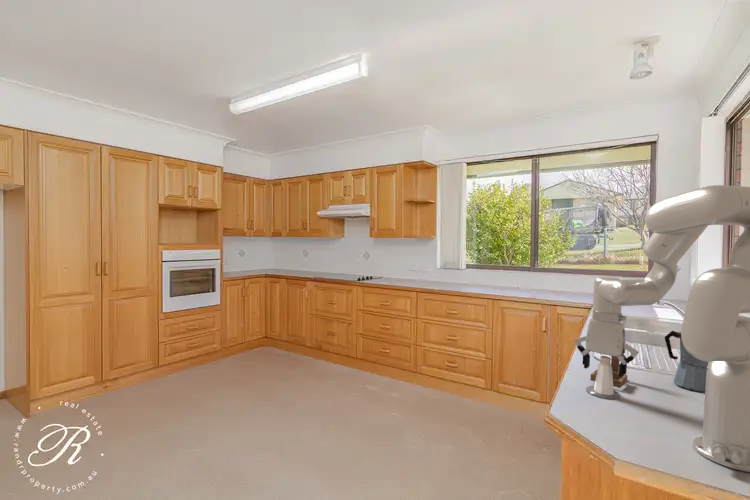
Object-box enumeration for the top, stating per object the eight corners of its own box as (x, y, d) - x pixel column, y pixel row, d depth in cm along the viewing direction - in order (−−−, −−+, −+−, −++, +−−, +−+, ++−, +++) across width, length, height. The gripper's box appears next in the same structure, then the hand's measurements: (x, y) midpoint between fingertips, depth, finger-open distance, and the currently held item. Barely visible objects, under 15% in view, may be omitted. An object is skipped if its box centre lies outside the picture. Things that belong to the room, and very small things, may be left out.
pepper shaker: (615, 392, 119) (617, 357, 119) (611, 397, 115) (613, 361, 115) (596, 387, 123) (598, 353, 122) (591, 391, 119) (593, 356, 118)
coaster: (615, 402, 113) (615, 400, 113) (581, 392, 119) (582, 390, 119) (623, 393, 119) (623, 392, 119) (591, 385, 126) (591, 383, 126)
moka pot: (726, 395, 120) (730, 332, 119) (671, 390, 123) (674, 328, 122) (707, 383, 129) (710, 325, 129) (655, 379, 133) (659, 322, 132)
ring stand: (620, 391, 121) (622, 341, 121) (590, 383, 127) (592, 335, 127) (630, 380, 131) (633, 334, 130) (602, 373, 137) (604, 329, 136)
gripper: (642, 320, 115) (639, 376, 115) (580, 311, 127) (577, 362, 128) (636, 324, 110) (633, 382, 110) (572, 314, 122) (569, 367, 123)
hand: (603, 371), depth 119 cm, fingers open, 9 cm apart
